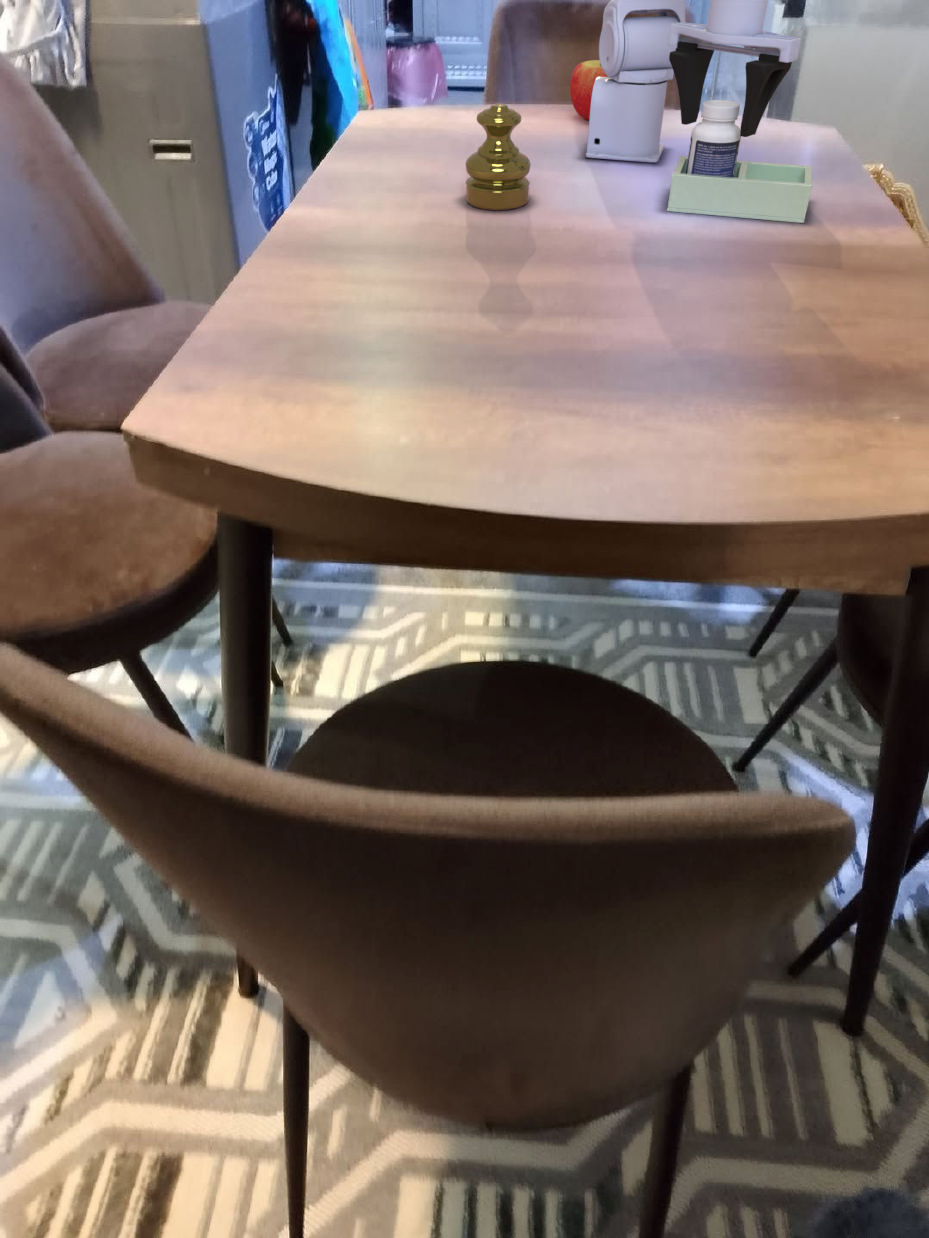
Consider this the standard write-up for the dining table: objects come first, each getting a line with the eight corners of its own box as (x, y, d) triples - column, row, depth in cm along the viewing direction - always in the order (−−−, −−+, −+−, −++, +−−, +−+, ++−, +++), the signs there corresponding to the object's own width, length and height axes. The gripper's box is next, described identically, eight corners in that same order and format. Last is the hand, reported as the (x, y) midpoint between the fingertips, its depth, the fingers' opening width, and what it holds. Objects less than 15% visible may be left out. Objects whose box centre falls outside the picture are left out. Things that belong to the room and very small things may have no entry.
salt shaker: (481, 215, 102) (482, 116, 96) (455, 196, 108) (455, 101, 101) (539, 206, 105) (544, 109, 98) (511, 189, 110) (514, 95, 103)
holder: (803, 223, 100) (812, 185, 98) (667, 211, 104) (672, 174, 101) (804, 202, 106) (812, 166, 104) (674, 191, 109) (679, 156, 107)
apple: (608, 129, 132) (615, 49, 126) (557, 121, 136) (561, 43, 129) (632, 118, 137) (641, 40, 131) (582, 110, 141) (588, 35, 134)
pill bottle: (738, 203, 104) (756, 107, 98) (696, 207, 103) (712, 110, 96) (714, 189, 108) (730, 96, 101) (674, 193, 107) (687, 100, 100)
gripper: (828, -18, 90) (795, 134, 99) (704, -30, 98) (683, 112, 106) (791, -11, 86) (760, 146, 95) (665, -24, 94) (647, 122, 103)
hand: (717, 129), depth 100 cm, fingers open, 7 cm apart
